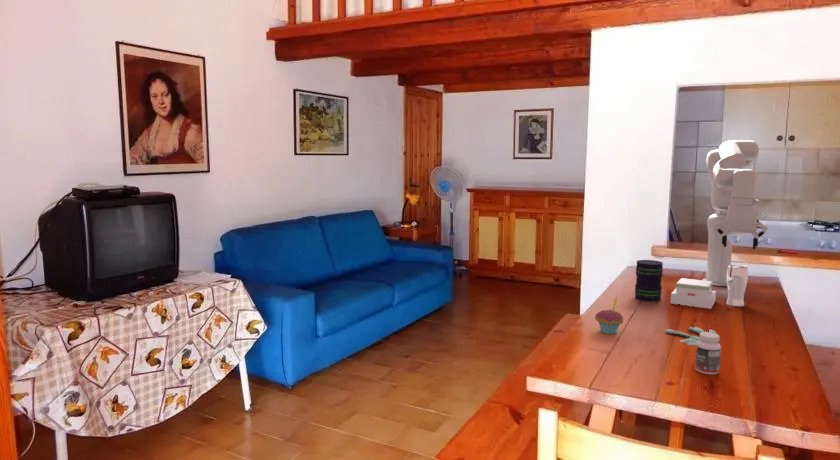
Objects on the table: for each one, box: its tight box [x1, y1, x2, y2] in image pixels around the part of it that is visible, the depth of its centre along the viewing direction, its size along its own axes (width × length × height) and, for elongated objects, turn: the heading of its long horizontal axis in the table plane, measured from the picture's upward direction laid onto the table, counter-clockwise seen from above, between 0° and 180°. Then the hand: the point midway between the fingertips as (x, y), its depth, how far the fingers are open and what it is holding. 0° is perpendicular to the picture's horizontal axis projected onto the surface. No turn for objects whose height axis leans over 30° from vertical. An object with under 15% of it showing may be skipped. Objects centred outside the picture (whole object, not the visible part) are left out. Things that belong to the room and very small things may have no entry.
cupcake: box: [594, 295, 624, 335], centre depth 180 cm, size 9×8×12 cm
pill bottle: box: [694, 331, 722, 376], centre depth 147 cm, size 6×6×10 cm
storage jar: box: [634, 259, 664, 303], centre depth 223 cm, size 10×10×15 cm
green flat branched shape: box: [664, 326, 721, 347], centre depth 178 cm, size 20×22×2 cm
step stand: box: [670, 277, 717, 310], centre depth 218 cm, size 14×14×8 cm
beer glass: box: [725, 264, 749, 308], centre depth 214 cm, size 7×7×15 cm
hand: (739, 247), depth 212 cm, fingers open, 9 cm apart
